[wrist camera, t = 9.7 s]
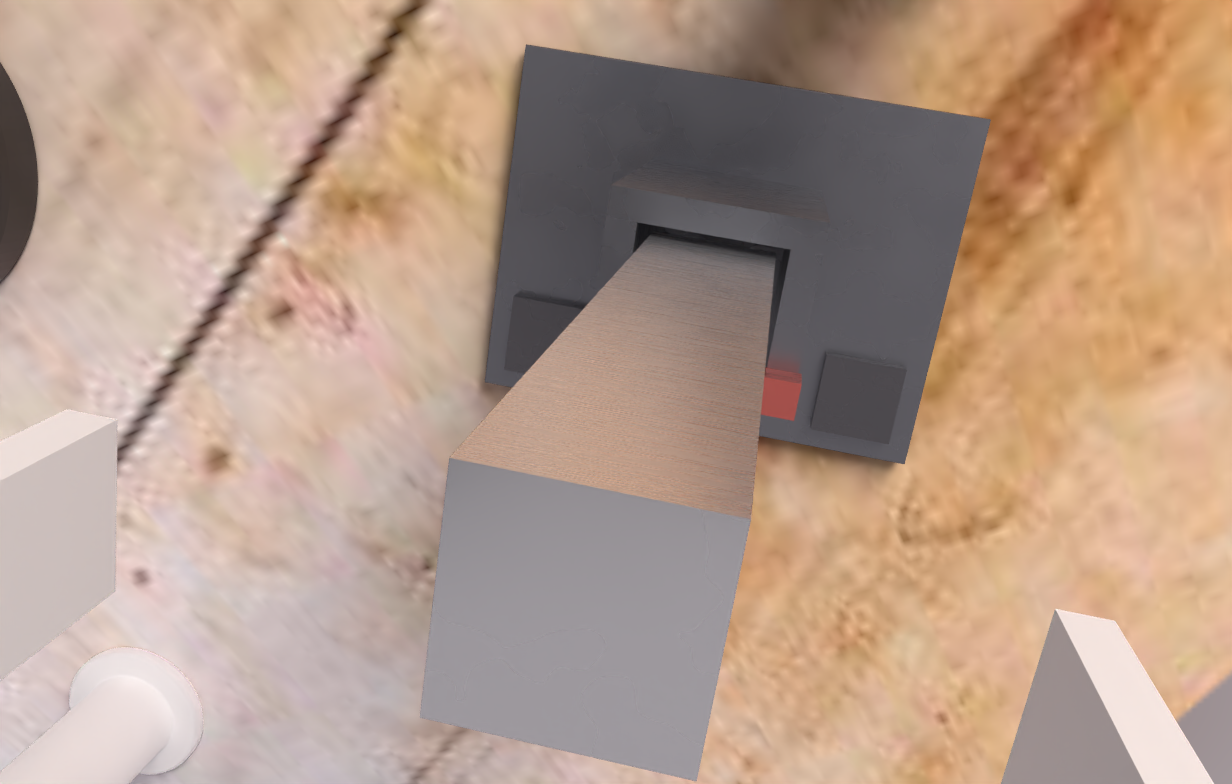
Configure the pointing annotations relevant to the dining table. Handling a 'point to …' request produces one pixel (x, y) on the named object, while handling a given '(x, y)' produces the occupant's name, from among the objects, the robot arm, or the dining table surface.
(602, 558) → the column
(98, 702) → the candle
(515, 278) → the housing
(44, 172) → the dining table surface
